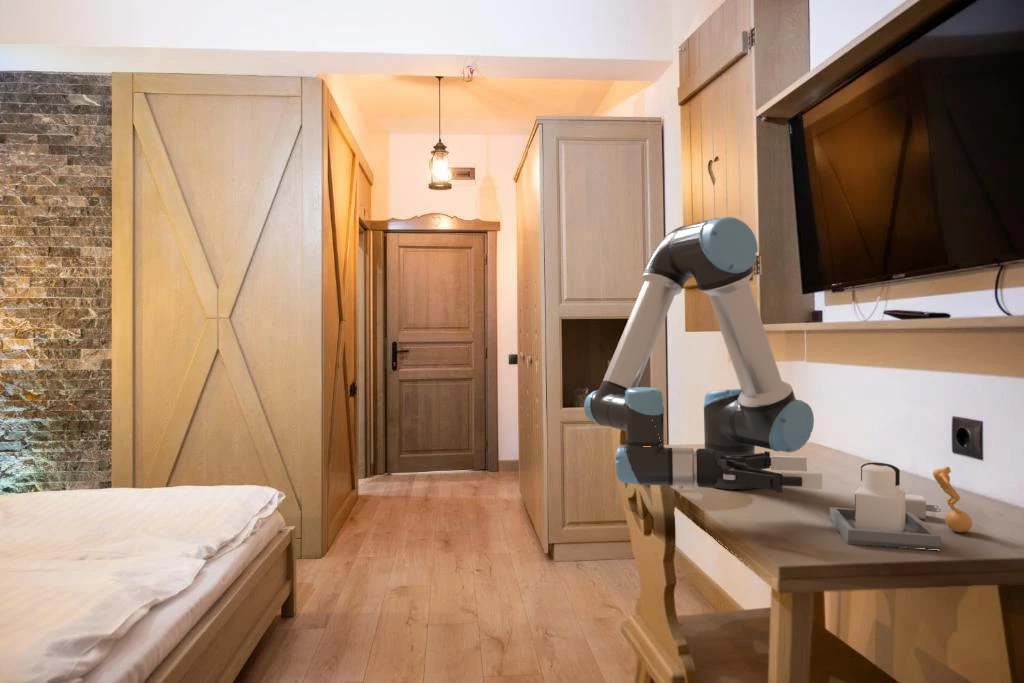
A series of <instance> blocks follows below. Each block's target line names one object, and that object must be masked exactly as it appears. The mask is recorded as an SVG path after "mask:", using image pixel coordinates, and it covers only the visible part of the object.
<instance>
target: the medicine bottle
mask: <svg viewBox="0 0 1024 683" xmlns="http://www.w3.org/2000/svg"><path fill="white" fill-rule="evenodd" d="M900 471H901V470H900V469H899V468H898V467H897V466H895V465H893V464H890V463H883V462H866V463H864V464H862V465H861V466H860V484H861V485H860V486H859V487H858V488H857V490H856V491H855V492H854V509H855V529H866V530H880V531H894V532H903V531H904V529H905V494H906V491H905V490H904V489H900V488H901V486H900V484H901V482H900V480H901V478H900Z"/></svg>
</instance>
